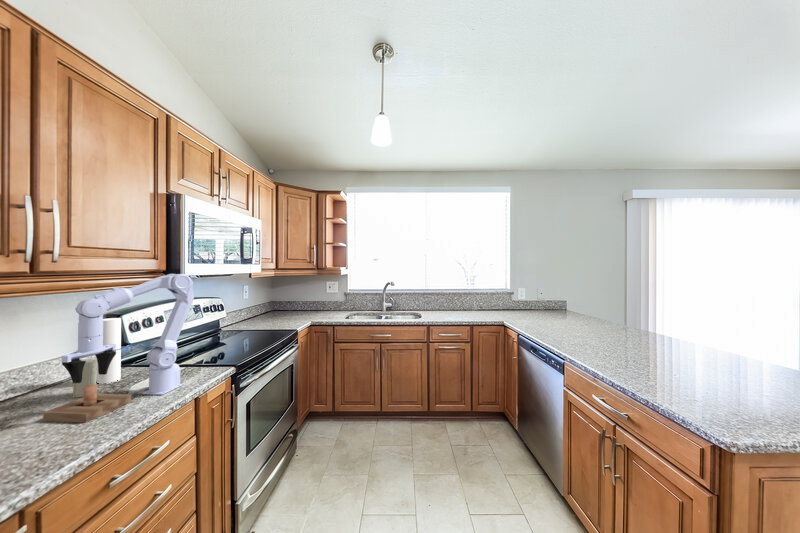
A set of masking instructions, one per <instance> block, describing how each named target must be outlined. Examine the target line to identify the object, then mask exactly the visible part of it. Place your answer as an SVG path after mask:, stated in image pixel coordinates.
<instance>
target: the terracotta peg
mask: <svg viewBox="0 0 800 533" xmlns="http://www.w3.org/2000/svg"><path fill="white" fill-rule="evenodd" d="M97 394H98V384H97V383H96V384H91V385H87V386H84V401H83V407H90V406H92V405H94V404H97Z"/></svg>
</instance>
